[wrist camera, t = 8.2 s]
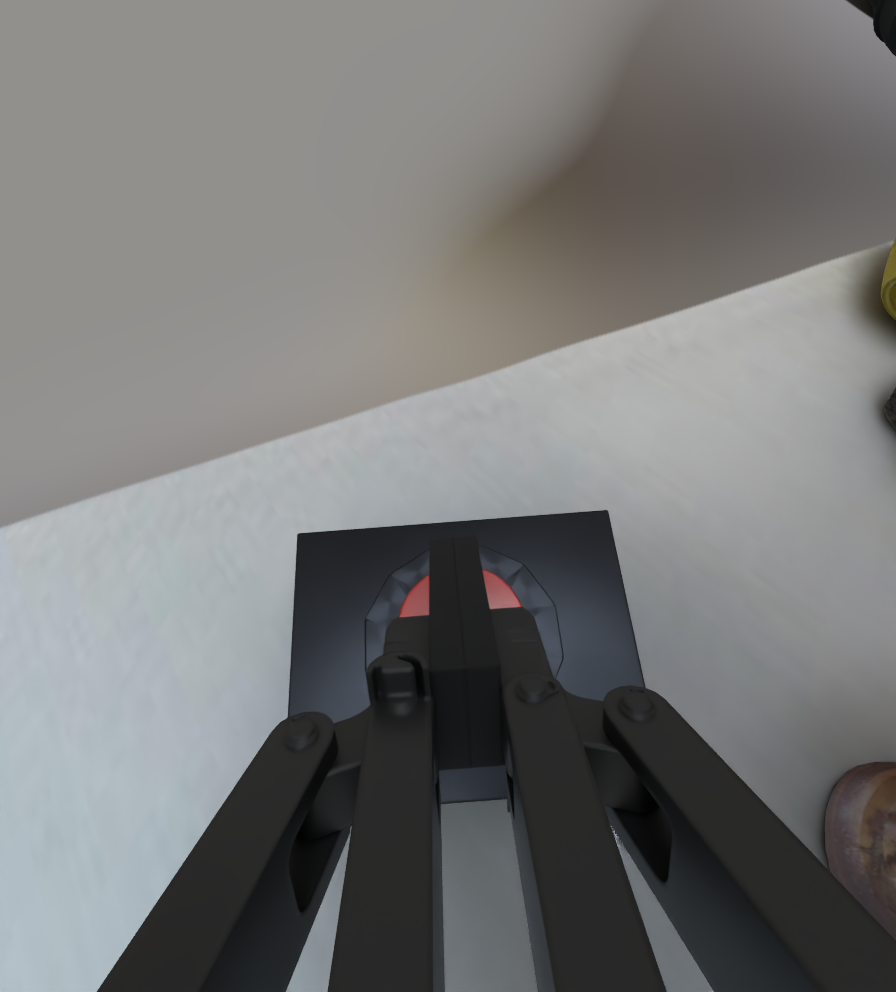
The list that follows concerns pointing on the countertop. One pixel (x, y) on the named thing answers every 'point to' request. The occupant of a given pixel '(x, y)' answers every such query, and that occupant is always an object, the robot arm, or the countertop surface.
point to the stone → (891, 409)
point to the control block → (503, 551)
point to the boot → (885, 22)
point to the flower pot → (890, 284)
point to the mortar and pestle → (865, 838)
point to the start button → (495, 587)
